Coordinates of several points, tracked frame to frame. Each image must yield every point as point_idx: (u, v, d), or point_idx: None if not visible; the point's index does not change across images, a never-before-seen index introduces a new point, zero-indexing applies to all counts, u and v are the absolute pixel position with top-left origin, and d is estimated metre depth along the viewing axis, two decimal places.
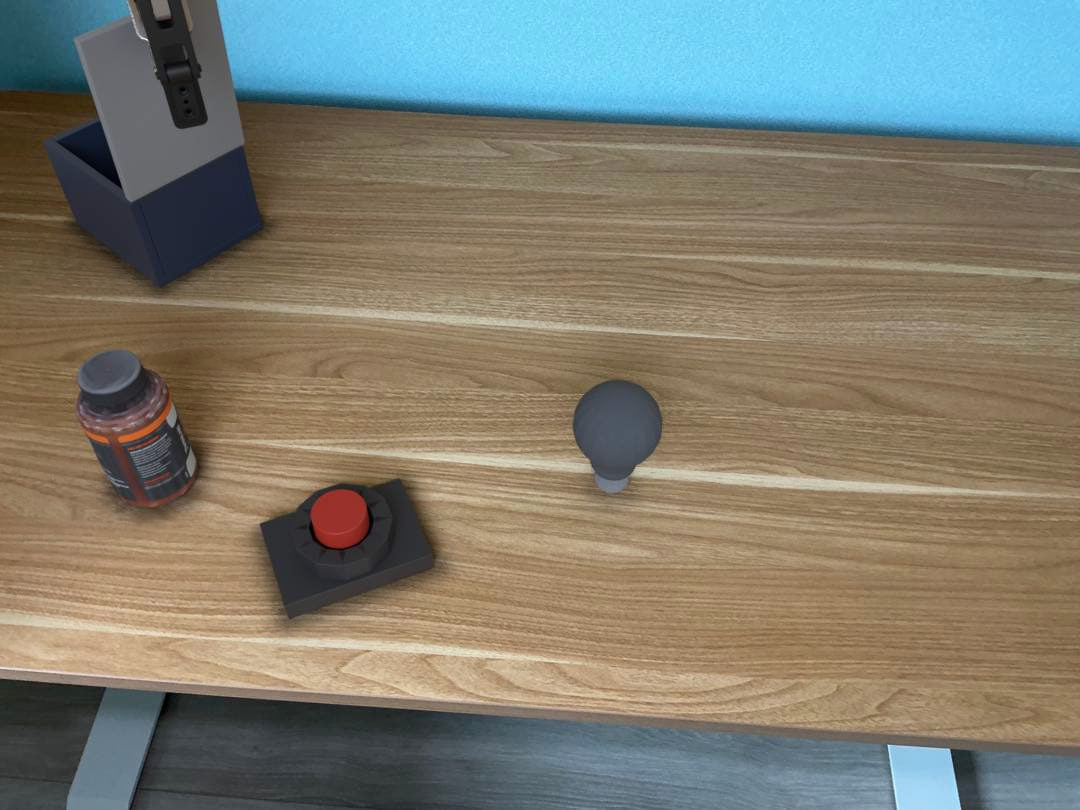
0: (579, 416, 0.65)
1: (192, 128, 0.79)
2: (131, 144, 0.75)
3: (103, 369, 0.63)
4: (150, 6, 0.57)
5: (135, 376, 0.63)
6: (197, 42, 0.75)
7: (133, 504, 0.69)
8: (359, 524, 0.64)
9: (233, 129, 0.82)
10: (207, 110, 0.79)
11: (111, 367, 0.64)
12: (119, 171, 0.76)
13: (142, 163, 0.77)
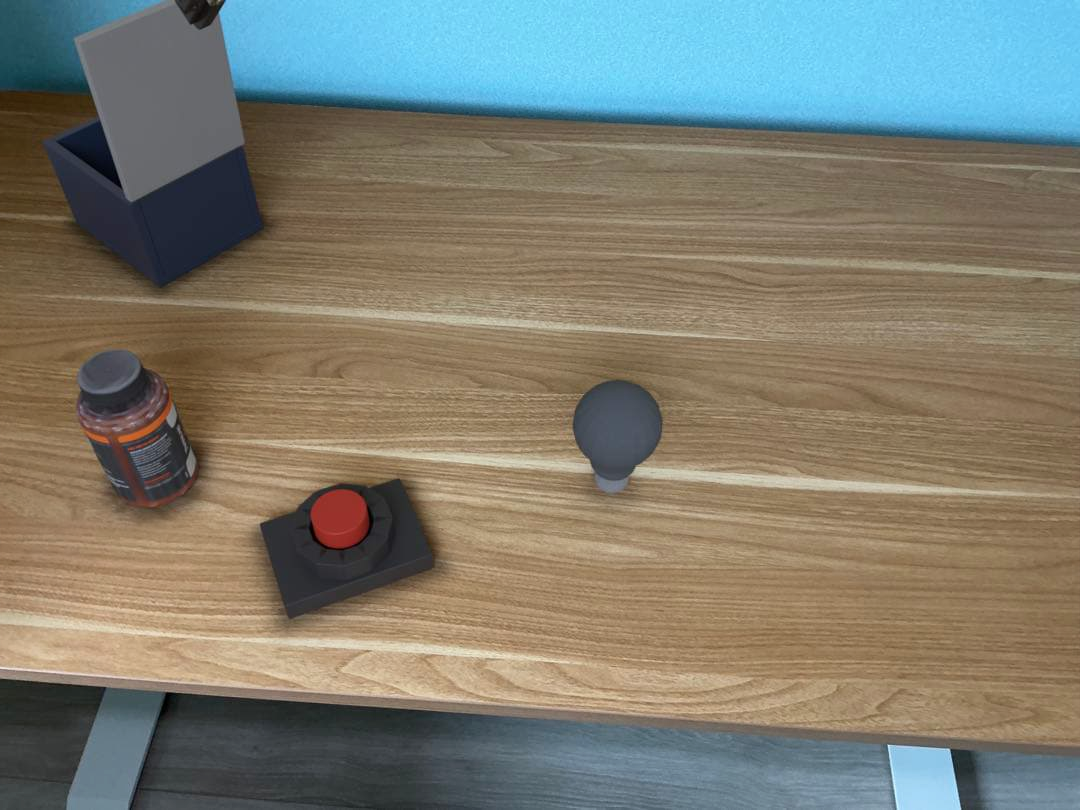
0: (579, 416, 0.65)
1: (192, 128, 0.79)
2: (131, 144, 0.75)
3: (103, 369, 0.63)
4: None
5: (135, 376, 0.63)
6: (197, 42, 0.75)
7: (133, 504, 0.69)
8: (359, 524, 0.64)
9: (233, 129, 0.82)
10: (207, 110, 0.79)
11: (111, 367, 0.64)
12: (119, 171, 0.76)
13: (142, 163, 0.77)
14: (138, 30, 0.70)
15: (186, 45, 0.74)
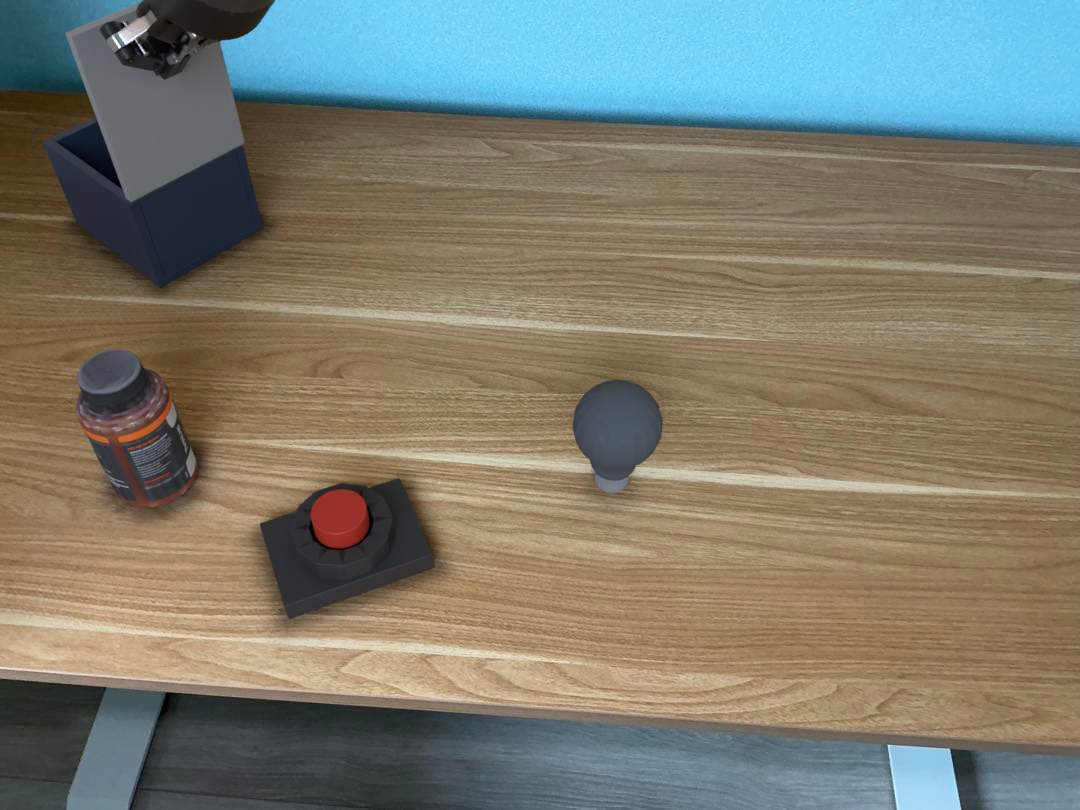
0: (579, 416, 0.65)
1: (190, 126, 0.79)
2: (128, 142, 0.75)
3: (103, 369, 0.63)
4: None
5: (135, 376, 0.63)
6: None
7: (133, 504, 0.69)
8: (359, 524, 0.64)
9: (232, 128, 0.82)
10: (204, 108, 0.79)
11: (111, 367, 0.64)
12: (117, 169, 0.76)
13: (140, 162, 0.77)
14: None
15: None
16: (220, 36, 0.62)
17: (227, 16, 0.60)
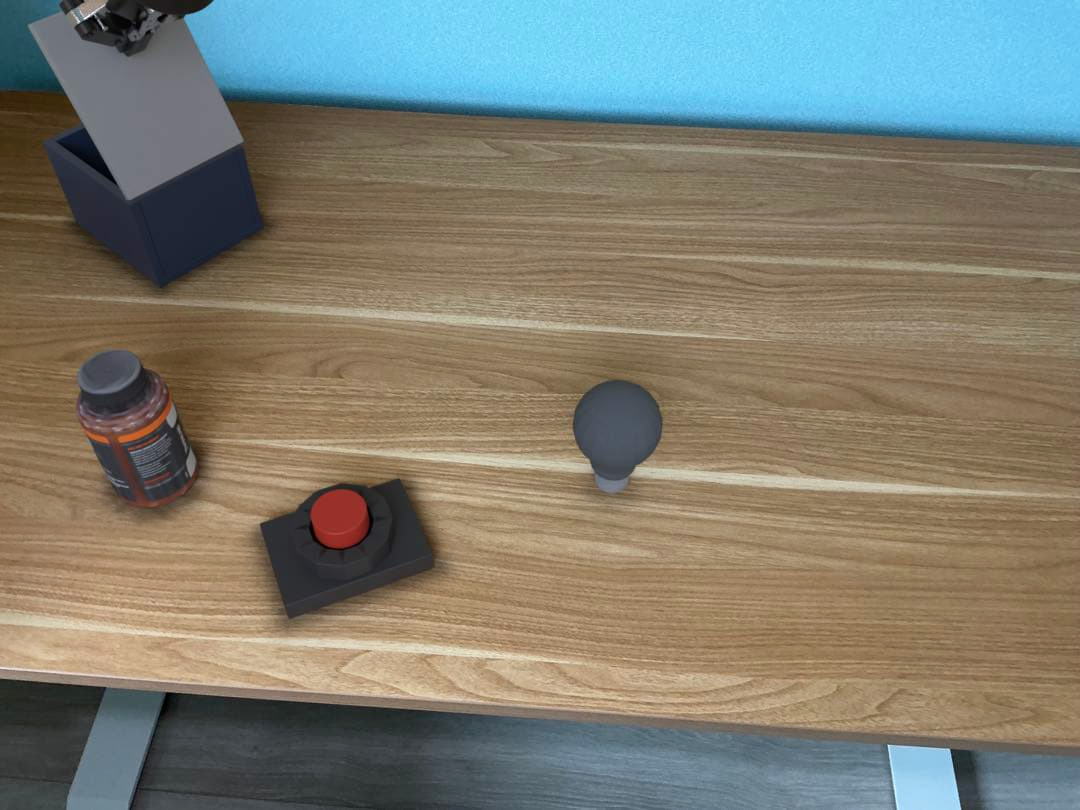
0: (579, 416, 0.65)
1: (178, 121, 0.80)
2: (114, 135, 0.77)
3: (103, 369, 0.63)
4: None
5: (135, 376, 0.63)
6: None
7: (133, 504, 0.69)
8: (359, 524, 0.64)
9: (226, 124, 0.82)
10: (190, 102, 0.80)
11: (111, 367, 0.64)
12: (109, 165, 0.77)
13: (131, 157, 0.78)
14: None
15: None
16: (176, 11, 0.64)
17: None
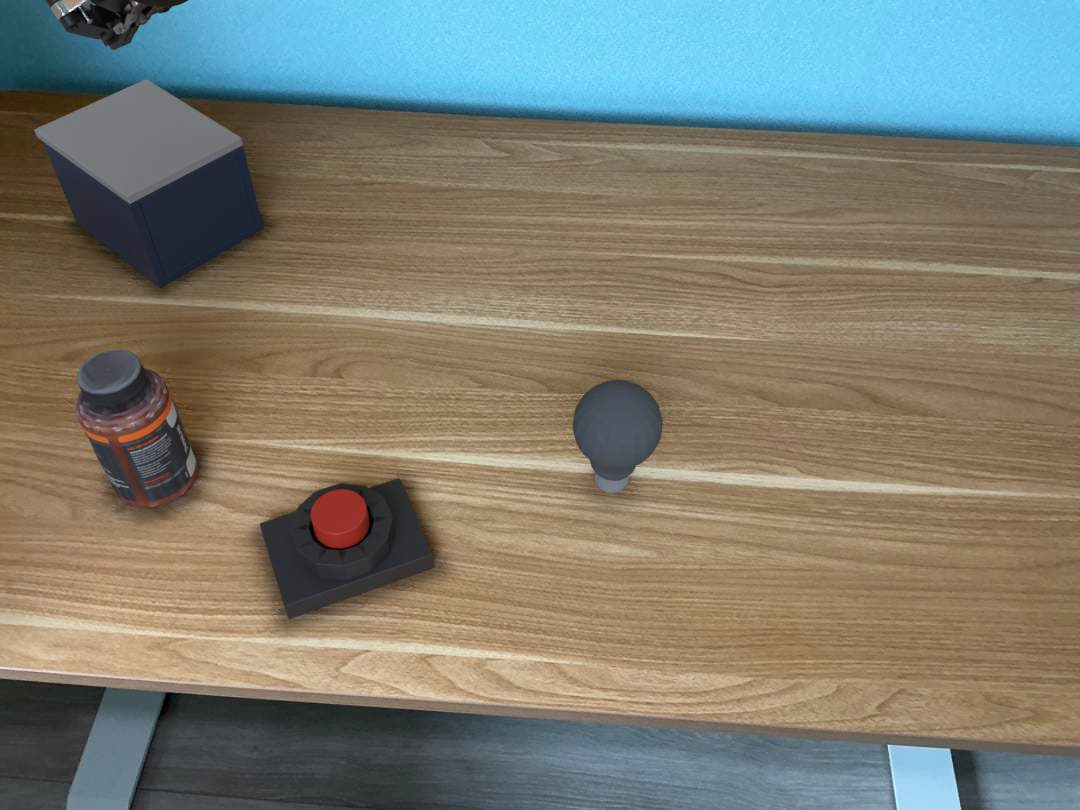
0: (579, 416, 0.65)
1: (171, 142, 0.83)
2: (108, 164, 0.81)
3: (103, 369, 0.63)
4: None
5: (135, 376, 0.63)
6: (146, 103, 0.87)
7: (133, 504, 0.69)
8: (359, 524, 0.64)
9: (219, 133, 0.84)
10: (181, 130, 0.84)
11: (111, 367, 0.64)
12: (107, 184, 0.80)
13: (126, 172, 0.80)
14: (85, 112, 0.86)
15: (136, 107, 0.87)
16: (159, 3, 0.65)
17: None
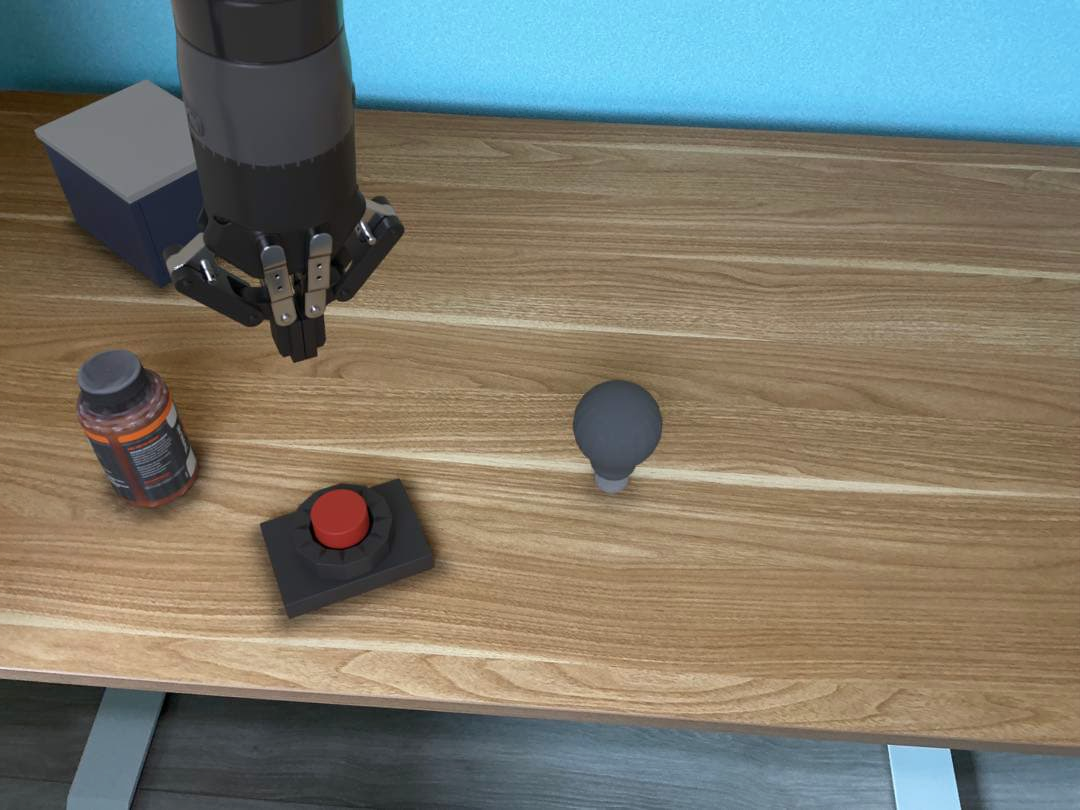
0: (579, 416, 0.65)
1: (171, 142, 0.83)
2: (108, 164, 0.81)
3: (103, 369, 0.63)
4: None
5: (135, 376, 0.63)
6: (146, 103, 0.87)
7: (133, 504, 0.69)
8: (359, 524, 0.64)
9: None
10: (181, 130, 0.84)
11: (111, 367, 0.64)
12: (107, 184, 0.80)
13: (126, 172, 0.80)
14: (85, 112, 0.86)
15: (136, 107, 0.87)
16: (266, 222, 0.46)
17: (252, 174, 0.44)
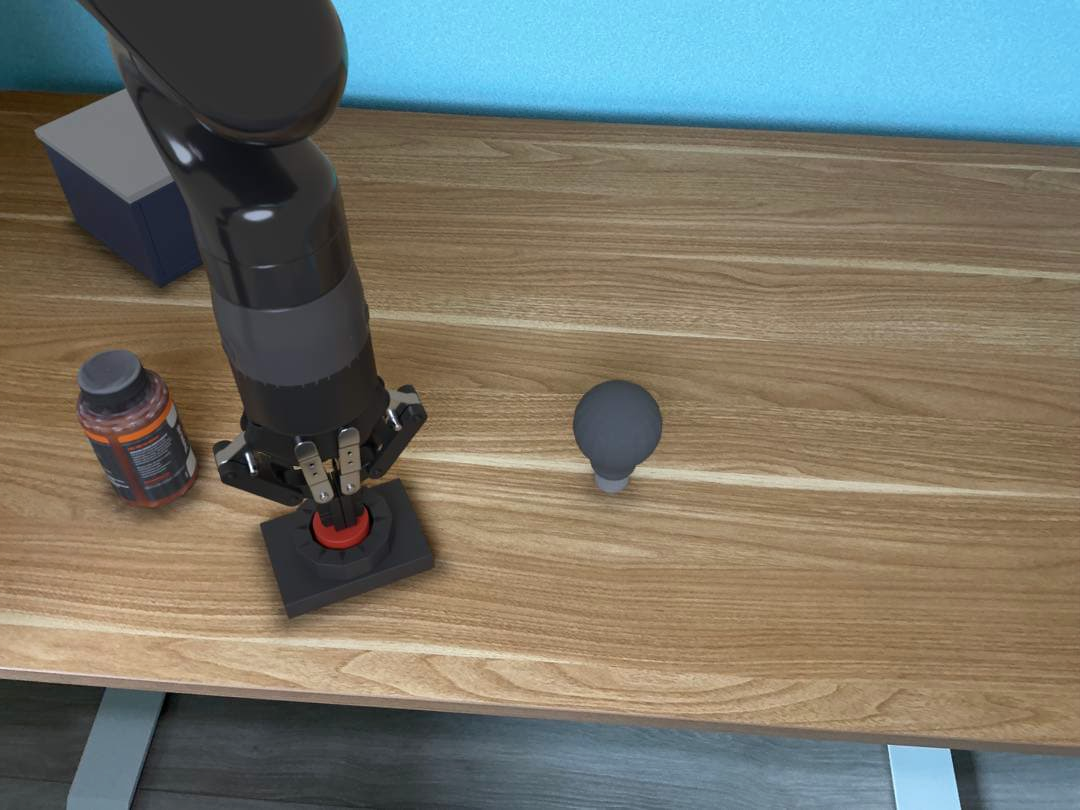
0: (579, 416, 0.65)
1: None
2: (108, 164, 0.81)
3: (103, 369, 0.63)
4: None
5: (135, 376, 0.63)
6: None
7: (133, 504, 0.69)
8: (361, 532, 0.64)
9: None
10: None
11: (111, 367, 0.64)
12: (107, 184, 0.80)
13: (126, 172, 0.80)
14: (85, 112, 0.86)
15: None
16: (293, 428, 0.52)
17: (277, 392, 0.50)
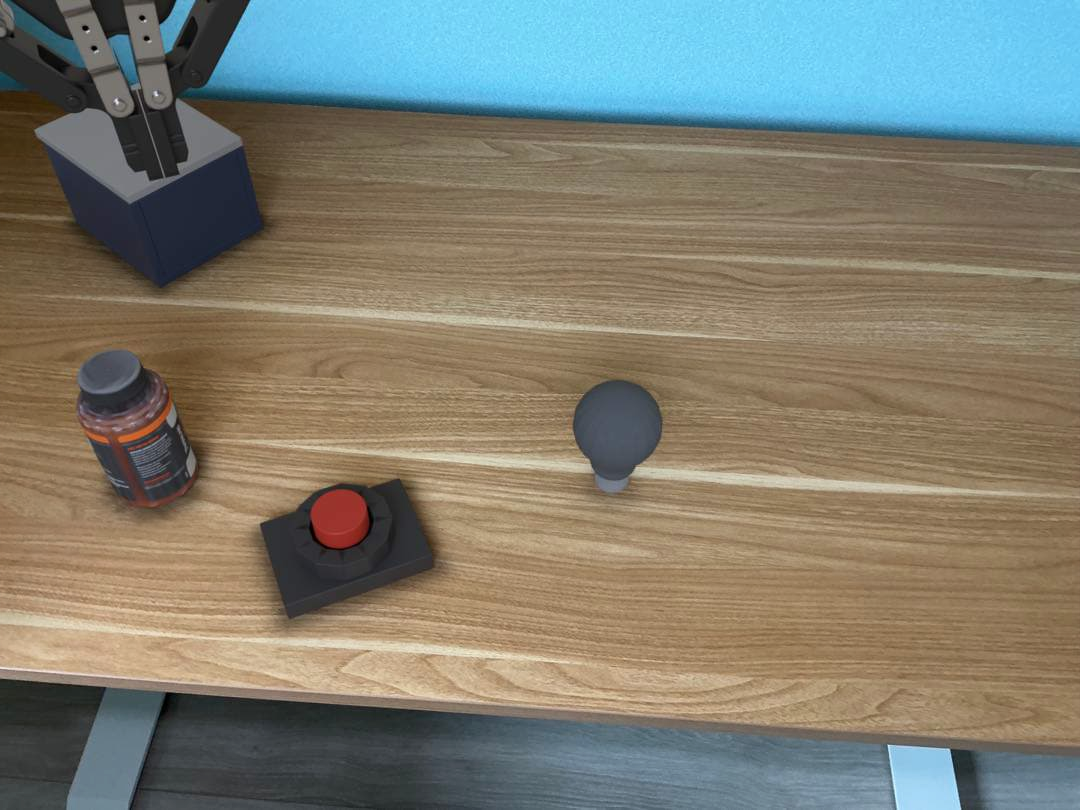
0: (579, 416, 0.65)
1: None
2: (108, 164, 0.81)
3: (103, 369, 0.63)
4: None
5: (135, 376, 0.63)
6: None
7: (133, 504, 0.69)
8: (359, 524, 0.64)
9: (219, 133, 0.84)
10: None
11: (111, 367, 0.64)
12: (107, 184, 0.80)
13: (126, 172, 0.80)
14: (85, 112, 0.86)
15: None
16: None
17: None
